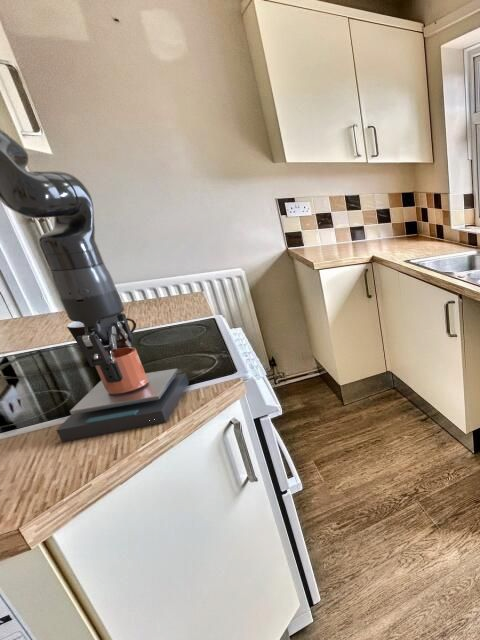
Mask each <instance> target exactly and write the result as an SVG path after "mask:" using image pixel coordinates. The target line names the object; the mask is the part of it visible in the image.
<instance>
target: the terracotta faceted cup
mask: <svg viewBox="0 0 480 640" xmlns="http://www.w3.org/2000/svg"><path fill="white" fill-rule="evenodd" d="M106 353H107V355H108V352H106ZM114 354H115V362H117V365H118V367H119V370H120V372H121V374H122V377H123V379H122V380H121V381H120V382H114V383H108V382H107V381H106V379H105V376H104V374H103V372H102V370H101V367H100V366H94V367H95V370H96V371H97V373H98V376H99V378H100V381H101V380H102V383H103V385H104V387H105V389H106V391H107V392H108V393H110V394H117V393H124V392H128V391H132V390H135V389H138V388H140V387H142V386H144V385H145V384H146V383H147V382H148V379H147V376H146V374H145V373H146V372H145V368H144V366H143V364H142V361H141V359H140V356H139V353H138V350H137V349H136V347H133V346H131V347H123V348H117V350H116V351H114ZM94 359H95V358H94Z"/></svg>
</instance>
